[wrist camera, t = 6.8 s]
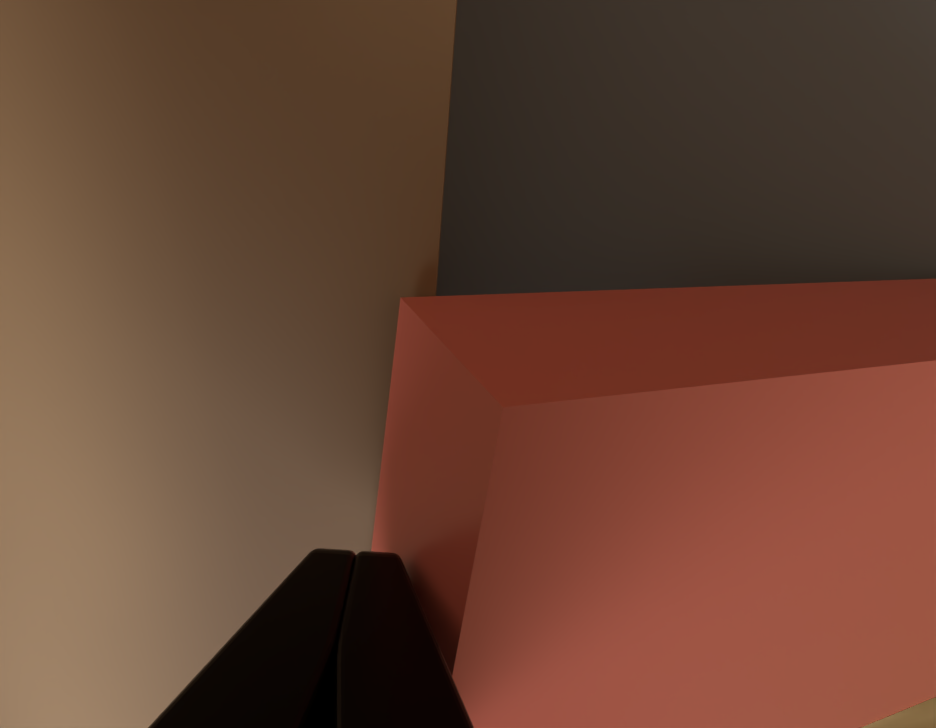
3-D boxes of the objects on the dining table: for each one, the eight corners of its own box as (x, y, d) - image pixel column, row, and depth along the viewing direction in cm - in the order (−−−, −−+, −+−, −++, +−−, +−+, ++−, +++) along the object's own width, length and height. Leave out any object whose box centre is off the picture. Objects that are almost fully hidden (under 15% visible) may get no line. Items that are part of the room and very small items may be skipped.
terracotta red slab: (997, 276, 11) (1154, 336, 9) (846, 601, 14) (951, 690, 12) (401, 297, 7) (502, 406, 6) (348, 751, 10) (407, 913, 8)
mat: (1573, 12, 10) (1614, 14, 10) (1178, 604, 14) (1196, 621, 14) (464, -98, 9) (464, -100, 9) (417, 558, 14) (416, 573, 14)
